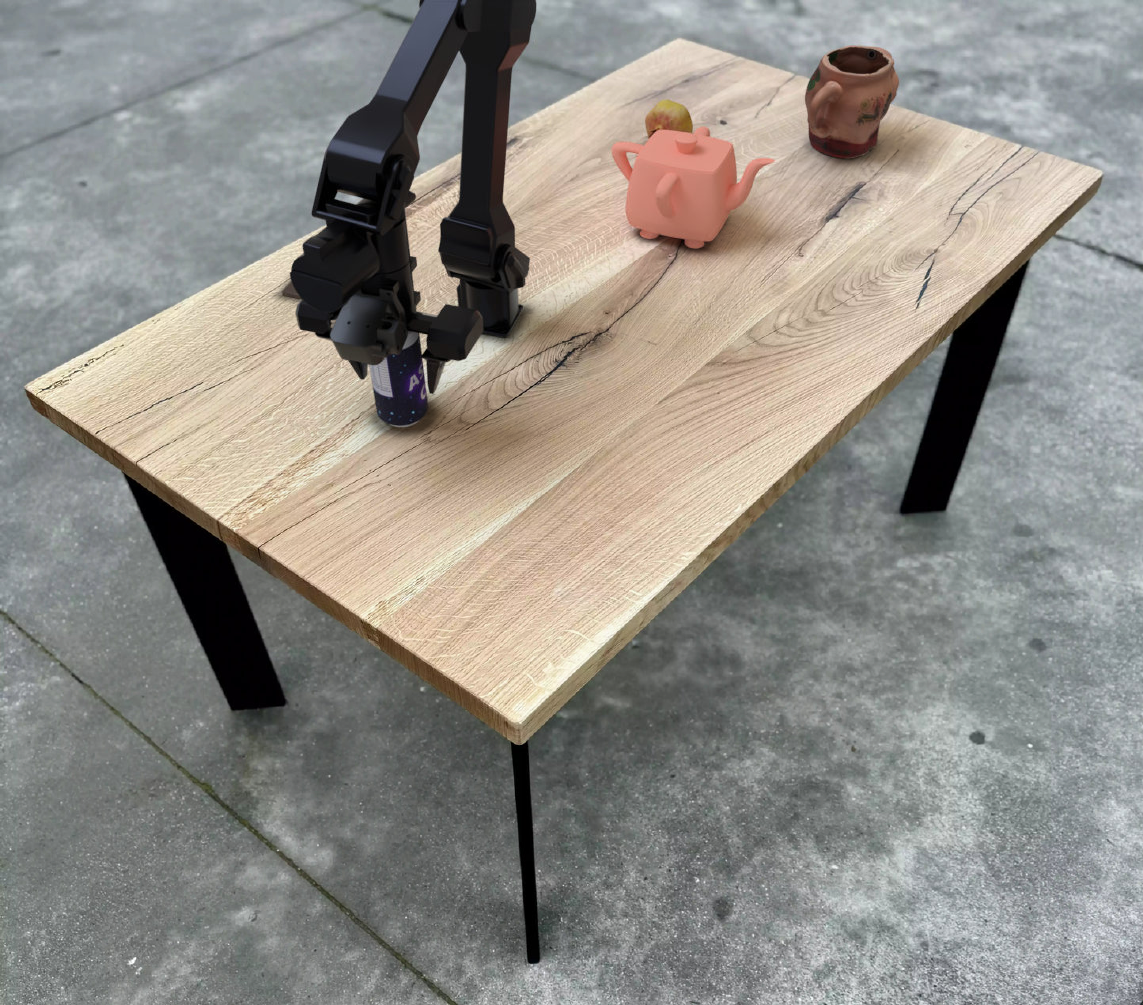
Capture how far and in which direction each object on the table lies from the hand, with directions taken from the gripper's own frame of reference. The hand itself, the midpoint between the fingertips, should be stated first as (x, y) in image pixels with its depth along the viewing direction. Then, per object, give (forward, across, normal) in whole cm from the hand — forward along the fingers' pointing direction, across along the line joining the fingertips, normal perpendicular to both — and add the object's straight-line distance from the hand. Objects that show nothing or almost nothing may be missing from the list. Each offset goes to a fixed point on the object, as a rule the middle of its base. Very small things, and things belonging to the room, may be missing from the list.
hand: (398, 384), depth 118 cm
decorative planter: (+4, +38, +77) cm, 86 cm away
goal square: (+4, -20, +21) cm, 29 cm away
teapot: (+4, +21, +48) cm, 53 cm away
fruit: (+4, +13, +71) cm, 72 cm away
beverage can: (+5, 0, 0) cm, 5 cm away
